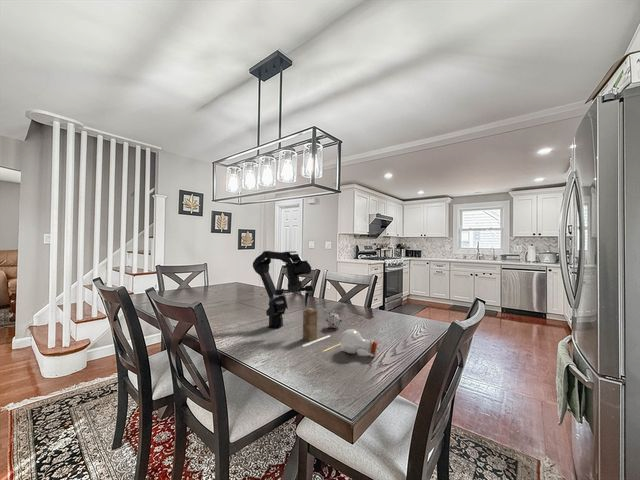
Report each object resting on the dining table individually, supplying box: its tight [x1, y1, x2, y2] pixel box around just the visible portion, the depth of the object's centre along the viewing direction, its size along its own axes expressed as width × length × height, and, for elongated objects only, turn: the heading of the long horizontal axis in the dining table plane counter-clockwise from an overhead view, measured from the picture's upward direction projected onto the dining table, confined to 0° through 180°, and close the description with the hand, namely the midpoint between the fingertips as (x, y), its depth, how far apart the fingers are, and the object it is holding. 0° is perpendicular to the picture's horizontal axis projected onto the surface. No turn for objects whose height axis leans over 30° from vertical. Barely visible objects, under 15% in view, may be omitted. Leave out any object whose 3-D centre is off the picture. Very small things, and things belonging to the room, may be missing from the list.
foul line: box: [301, 334, 331, 348], centre depth 123 cm, size 18×2×1 cm, turn 138°
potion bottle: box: [339, 328, 379, 357], centre depth 109 cm, size 9×10×15 cm
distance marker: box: [322, 342, 340, 353], centre depth 116 cm, size 14×1×1 cm, turn 138°
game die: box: [325, 311, 342, 330], centre depth 141 cm, size 9×8×10 cm
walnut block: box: [302, 308, 318, 342], centre depth 126 cm, size 5×5×14 cm
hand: (296, 307), depth 133 cm, fingers open, 9 cm apart
